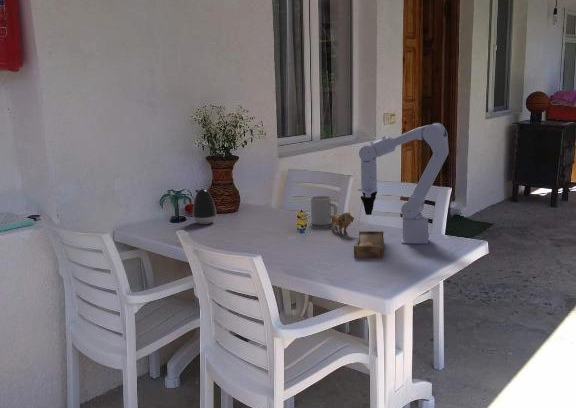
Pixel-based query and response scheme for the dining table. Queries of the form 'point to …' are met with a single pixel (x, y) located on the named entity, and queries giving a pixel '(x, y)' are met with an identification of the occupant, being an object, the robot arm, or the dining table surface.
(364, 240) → the wooden shadow box
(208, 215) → the dark egg-shaped device
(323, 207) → the mug
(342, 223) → the lion figurine
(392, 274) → the dining table surface
